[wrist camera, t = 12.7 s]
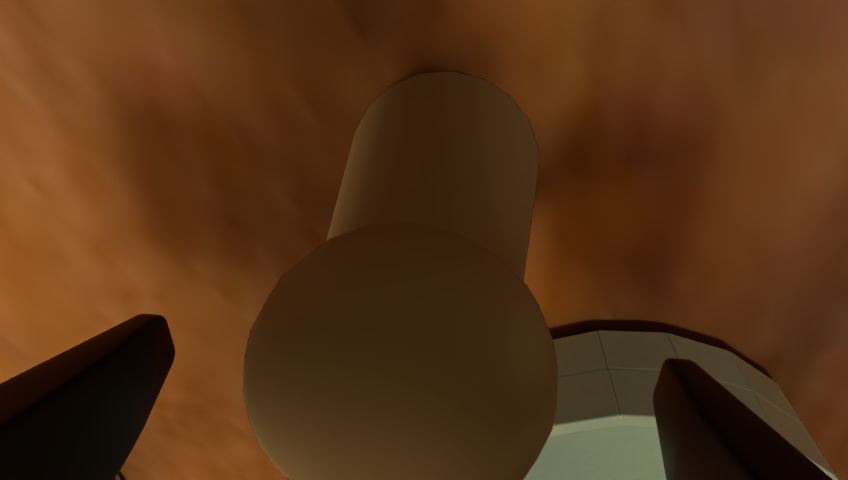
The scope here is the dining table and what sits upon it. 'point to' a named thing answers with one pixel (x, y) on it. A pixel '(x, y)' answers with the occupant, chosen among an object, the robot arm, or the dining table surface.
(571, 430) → the pan
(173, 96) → the dining table surface
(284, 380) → the tan gourd shape
